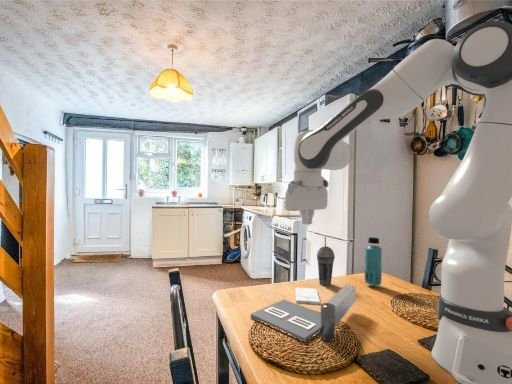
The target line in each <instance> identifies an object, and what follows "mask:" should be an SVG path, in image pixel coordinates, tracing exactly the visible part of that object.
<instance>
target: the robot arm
mask: <svg viewBox="0 0 512 384" xmlns="http://www.w3.org/2000/svg"><path fill="white" fill-rule="evenodd" d="M448 85H450V86H451V87H453V88H455V89H457V90H459V91H462V92H464V93H466V94H469V95H473V96H476V97H477V96H478V97H485V104H484V108H483V110H482V113H481V116H480V118H479V119H478V120H479V121H478V122H477V125H476V128H475V130H474V132H473V135H472V136H471V140H470V142H469V145H468V147H467V149H466V152H465V154H464V157H463V158H462V161H461V162H460V164H459V165H458V166H457V168H456V170H455V171H454V173H453V175H451V177H450V179H449V181H448V182H447V184H446V186H445V187H444V189H443V191H442V192H441V193H440V195H439V196H438V197H437V198H436V199H435V200H434V201H433V202H432V204H431V205H430V208H429V211H428V220H429V223H430V224H431V225H430V226H431V227H432V228H433V230H435V232H436V233H437V234H438V235H440V236H442V237H444V238H446V239H448V244H447V247H446V252H445V253H444V257H443V258H442V261H441V282H440V283H441V284H440V295H438V300H437V315H438V321H439V322H438V328H437V333H436V338H435V342H434V345H433V347H432V349H431V357H432V359H434V361H435V363H437V364H438V365H439V366H441V368H443V369H444V370H446V371H447V372H448V373H450V374H451V375H452V377H453V378H454V379H455V381H457V382H458V383H459V384H512V310H509V309H508V308H507V307H505V306H504V304H505V274H506V273H505V272H506V264H507V260H508V255H509V247H510V241H511V234H512V207H511V205H510V203H509V202H510V200H511V199H512V24H511V23H509V22H506V21H503V20H492V21H491V20H490V21H485V22H484V23H480V24H478V25H476V26H474V27H472V28H471V29H469V30H468V31H467V32H466V33H465V34H463V35H462V36H461V37H460V39H458V42H457V44H456V45H453V44H452V43H450V41H447V40H445V39H441V38H433V39H430V40H427V41H426V42H425V43H423V44H422V45H420V46H419V47H417V48H416V49H415V50H413V51H412V52H411V53H410V54H408V55H407V56H406V57H404V58H403V59H402V61H400V62H399V63H398V64H396V65H395V66H394V67H393V69H392V70H390V72H389V73H387V74H386V75H385V76H383V78H381V80H379V81H378V82H377V83H376V84H374V85H373V86H371V88H369V89H367V90H365V91H364V92H362V93H361V94H359V95H358V96H357V97H355V98H354V99H352V101H350V102H349V103H348V104H347V105H345V106H343V108H342V109H341V110H339V111H338V112H337V113H336V114H334V116H332V117H331V118H329V120H328V121H326V122H325V123H324V124H322V125H321V126H320V127H319V128H317V129H315V130H313V129H310V130H304V131H301V132H299V133H298V134H297V136H296V137H295V140H294V146H293V147H294V148H293V160H294V170H293V180H291V181H290V182H289V183H288V185H287V188H286V193H285V202H284V208H285V210H286V211H287V212H289V211H290V212H299V211H300V212H299V213H300V216H301V218H302V224H303V225H305V226H306V225H312V224H313V218H314V216H315V211H317V210H318V211H319V210H326V209H327V208H328V202H329V201H328V200H329V199H328V198H329V197H328V196H329V194H328V189H327V188H329V181H328V180H327V179H325V178H324V176H322V171H323V170H328V171H330V170H331V171H338V170H342V169H344V168H345V167H347V166H348V164H349V163H350V161H351V159H352V149H351V146H350V145H349V143H347V142H346V141H345V138H347V137H348V136H350V135H351V134H352V133H354V132H355V131H356V130H357V129H358V128H360V127H362V126H363V125H365V124H367V123H369V122H373V121H379V120H381V121H382V120H394V119H395V120H396V119H400V118H402V117H404V116H405V115H407V114H408V113H410V112H411V111H413V110H415V109H416V108H417V107H419V105H421V104H422V103H423V102H424V101H425V100H427V99H428V98H429V97H431V96H432V94H433V93H435V92H437V91H438V90H439V89H441V88H442V87H445V86H448Z"/></svg>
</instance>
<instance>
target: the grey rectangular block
mask: <svg viewBox="0 0 512 384" xmlns="http://www.w3.org/2000/svg"><path fill="white" fill-rule="evenodd" d="M356 289H357V288H356V286H354V285H351V284H345V285H344V286H342V288H341V289H339V290H338V292H337V293H335V294H334V295H333V296H332V297H331V298H330V299H329V300H328V301H326V302H323V303H320V313H321V322H320V333H319V334H320V335H319V338H320V337H321V338H322V339H321V338H320V339H321V340H323V339H325V340H333V339H334V338H335V337H336V335H335V330H336V326H337V325H338V324H339V322H340V321H341V320H342V319H343V318H344V316H345V315H346V313H348V312H349V310H350V309H351V308H352V307H353V306H354V304H355V303H356ZM325 340H324V341H325ZM334 340H335V339H334ZM334 340H333V341H334Z"/></svg>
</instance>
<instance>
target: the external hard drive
mask: <svg viewBox="0 0 512 384" xmlns="http://www.w3.org/2000/svg"><path fill="white" fill-rule="evenodd" d="M294 290H295V304H307V305H308V304H310V305H318V306H319V305H320V306H321V299H320V295H319V292H318V289H317V288H311V287H295V288H294Z"/></svg>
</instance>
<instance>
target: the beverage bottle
mask: <svg viewBox="0 0 512 384" xmlns="http://www.w3.org/2000/svg"><path fill="white" fill-rule="evenodd" d="M367 241H368V243H369V244H368V245H366V247H365V254H364V255H365V256H364V262H365V263H364V264H365V265H364V281H365V284H368V285H372V286H380V285H382V277H383V275H382V251H383V249H382V248H381V246H379V245H378V244H380V239H379V237H372V236H371V237H368V240H367ZM376 244H377V245H376Z"/></svg>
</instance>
